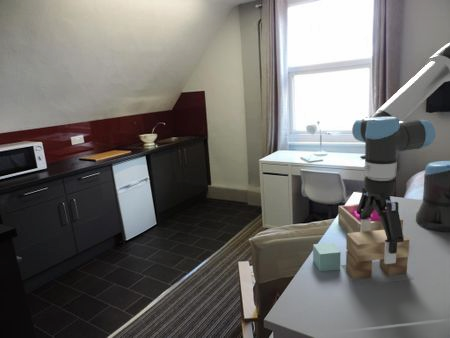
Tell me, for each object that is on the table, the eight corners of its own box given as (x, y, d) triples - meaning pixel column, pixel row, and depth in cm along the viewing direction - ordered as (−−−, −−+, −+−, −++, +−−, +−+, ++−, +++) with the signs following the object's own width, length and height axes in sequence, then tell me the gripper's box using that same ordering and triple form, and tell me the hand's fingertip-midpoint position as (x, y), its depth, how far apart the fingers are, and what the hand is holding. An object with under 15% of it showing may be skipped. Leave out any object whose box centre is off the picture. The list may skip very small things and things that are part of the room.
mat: (392, 260, 97) (392, 259, 96) (413, 280, 87) (414, 278, 87) (340, 266, 96) (340, 265, 96) (356, 286, 86) (356, 285, 86)
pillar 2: (396, 264, 94) (397, 245, 93) (406, 273, 89) (408, 254, 88) (379, 266, 94) (380, 247, 92) (389, 275, 89) (390, 256, 87)
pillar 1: (362, 267, 94) (363, 249, 92) (371, 277, 89) (372, 258, 87) (345, 269, 93) (346, 250, 92) (353, 279, 89) (354, 259, 87)
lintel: (393, 244, 93) (394, 228, 92) (408, 256, 87) (409, 239, 85) (346, 249, 93) (346, 233, 92) (357, 261, 86) (357, 244, 85)
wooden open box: (375, 219, 126) (376, 202, 124) (401, 238, 109) (403, 219, 107) (338, 222, 125) (338, 205, 123) (358, 243, 108) (359, 223, 107)
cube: (332, 260, 100) (332, 242, 98) (340, 270, 94) (340, 252, 92) (313, 262, 99) (313, 244, 98) (320, 272, 94) (320, 254, 92)
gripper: (345, 167, 96) (344, 232, 101) (392, 192, 72) (387, 276, 78) (370, 164, 96) (367, 230, 102) (424, 189, 73) (418, 273, 78)
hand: (376, 250), depth 90 cm, fingers open, 12 cm apart
